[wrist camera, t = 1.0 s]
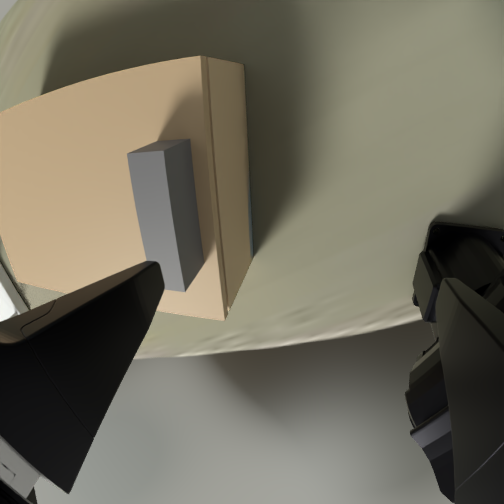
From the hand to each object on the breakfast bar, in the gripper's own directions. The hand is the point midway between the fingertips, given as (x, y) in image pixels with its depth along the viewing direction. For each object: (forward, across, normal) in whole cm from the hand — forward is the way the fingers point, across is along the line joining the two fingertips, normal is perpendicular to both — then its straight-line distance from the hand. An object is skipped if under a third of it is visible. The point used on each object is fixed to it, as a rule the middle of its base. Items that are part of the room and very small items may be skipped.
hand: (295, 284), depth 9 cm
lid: (+6, +13, -1) cm, 14 cm away
